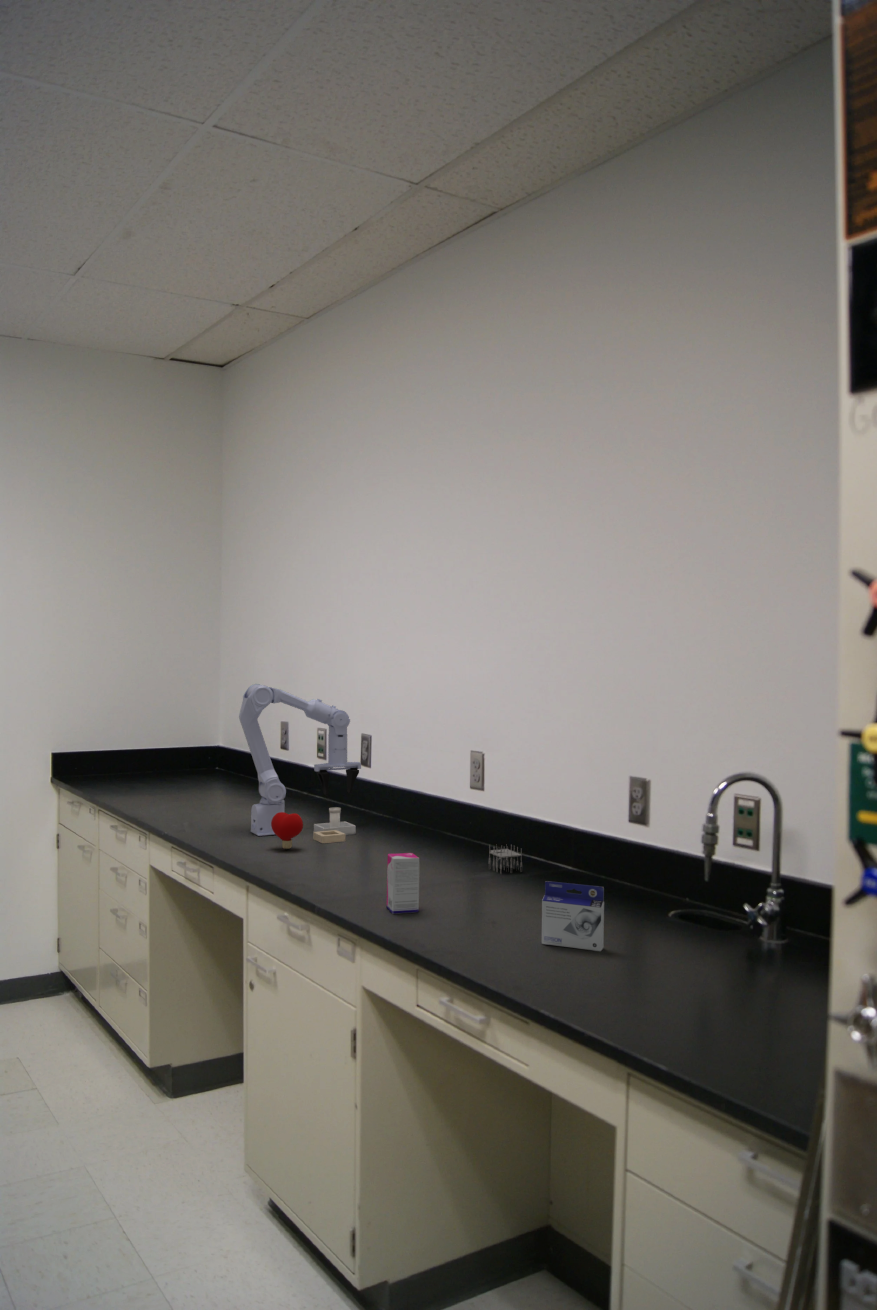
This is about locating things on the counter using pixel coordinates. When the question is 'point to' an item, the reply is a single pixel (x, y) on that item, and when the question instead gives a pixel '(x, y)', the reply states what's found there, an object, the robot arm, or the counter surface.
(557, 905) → the ink box
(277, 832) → the red heart figure
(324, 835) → the socket block
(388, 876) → the supplement box
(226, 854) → the counter surface
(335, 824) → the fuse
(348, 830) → the tray
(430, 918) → the counter surface
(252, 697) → the robot arm
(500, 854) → the building frame
